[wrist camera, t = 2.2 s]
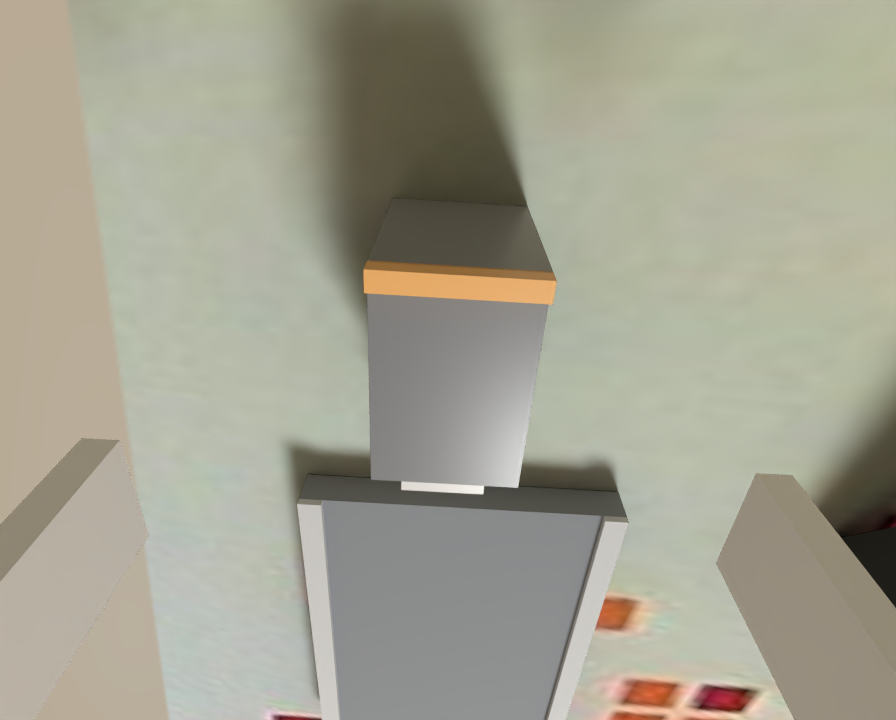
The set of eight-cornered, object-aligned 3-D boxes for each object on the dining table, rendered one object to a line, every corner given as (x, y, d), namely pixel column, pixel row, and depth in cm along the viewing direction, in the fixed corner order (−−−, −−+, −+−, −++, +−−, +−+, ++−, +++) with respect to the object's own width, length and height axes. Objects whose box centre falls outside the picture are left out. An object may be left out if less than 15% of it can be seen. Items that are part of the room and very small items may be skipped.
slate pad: (307, 474, 25) (296, 504, 23) (618, 492, 25) (628, 522, 23) (330, 710, 35) (324, 741, 33) (550, 722, 35) (554, 754, 33)
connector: (392, 197, 18) (363, 269, 13) (527, 205, 18) (556, 281, 13) (391, 426, 23) (370, 550, 18) (497, 432, 23) (509, 558, 18)
